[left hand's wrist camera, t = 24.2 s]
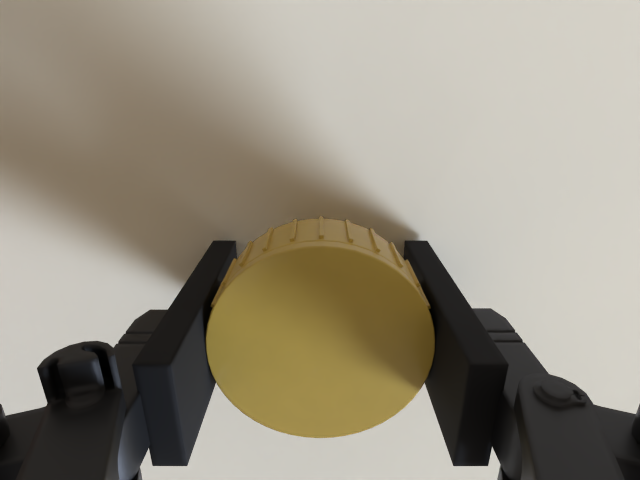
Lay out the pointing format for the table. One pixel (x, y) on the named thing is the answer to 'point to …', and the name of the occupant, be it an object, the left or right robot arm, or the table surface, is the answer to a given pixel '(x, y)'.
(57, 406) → the left robot arm
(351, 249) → the lid
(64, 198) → the table surface
